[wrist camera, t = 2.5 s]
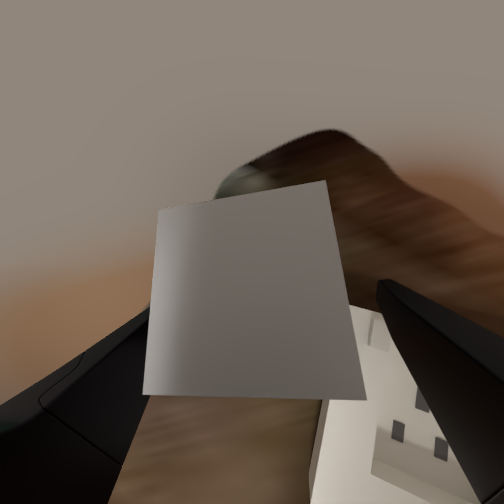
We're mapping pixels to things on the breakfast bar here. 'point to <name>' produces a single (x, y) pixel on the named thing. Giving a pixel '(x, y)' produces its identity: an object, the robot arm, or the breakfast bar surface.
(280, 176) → the breakfast bar surface
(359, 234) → the breakfast bar surface
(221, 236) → the grey tall block
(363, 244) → the breakfast bar surface
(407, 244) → the breakfast bar surface
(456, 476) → the socket
